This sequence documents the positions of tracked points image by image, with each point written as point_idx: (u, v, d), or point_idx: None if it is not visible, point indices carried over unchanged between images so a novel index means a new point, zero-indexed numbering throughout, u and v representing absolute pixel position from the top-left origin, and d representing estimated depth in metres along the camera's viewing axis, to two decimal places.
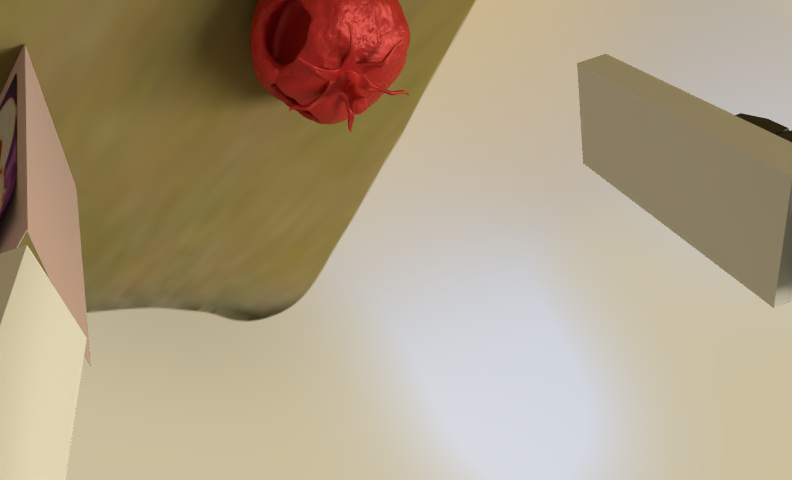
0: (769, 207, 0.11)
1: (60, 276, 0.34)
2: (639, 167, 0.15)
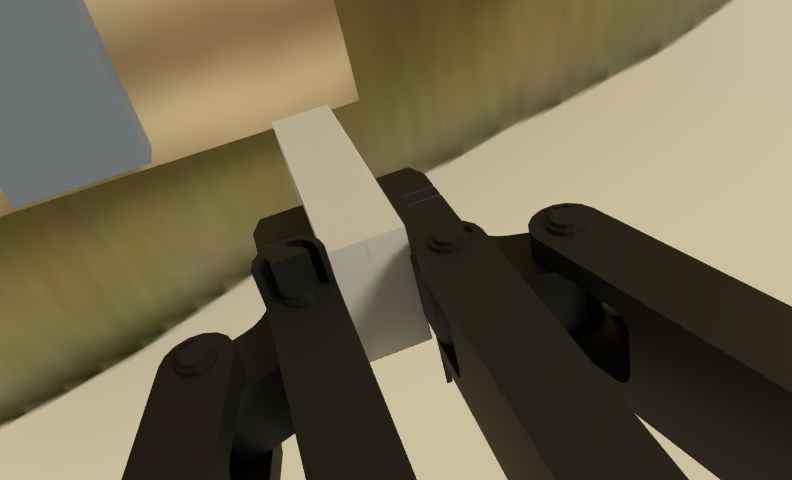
0: None
1: None
2: None
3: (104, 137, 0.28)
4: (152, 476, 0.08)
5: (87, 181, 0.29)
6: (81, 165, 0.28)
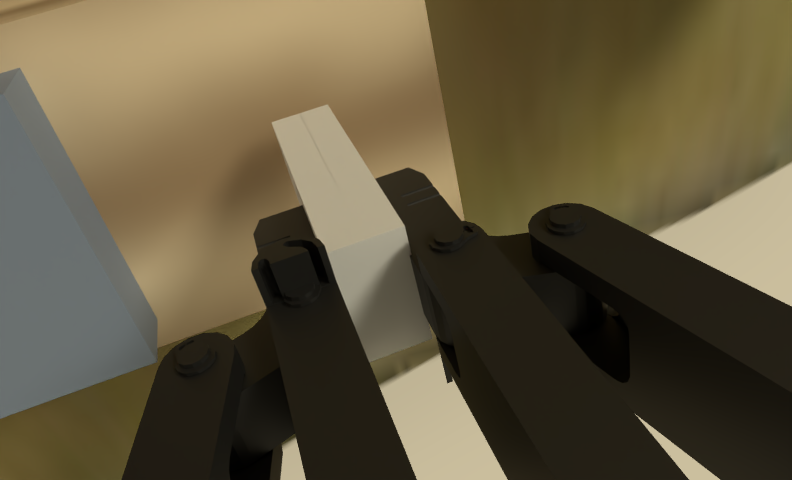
0: None
1: None
2: None
3: (81, 331, 0.17)
4: (152, 476, 0.08)
5: (55, 395, 0.18)
6: (44, 374, 0.18)
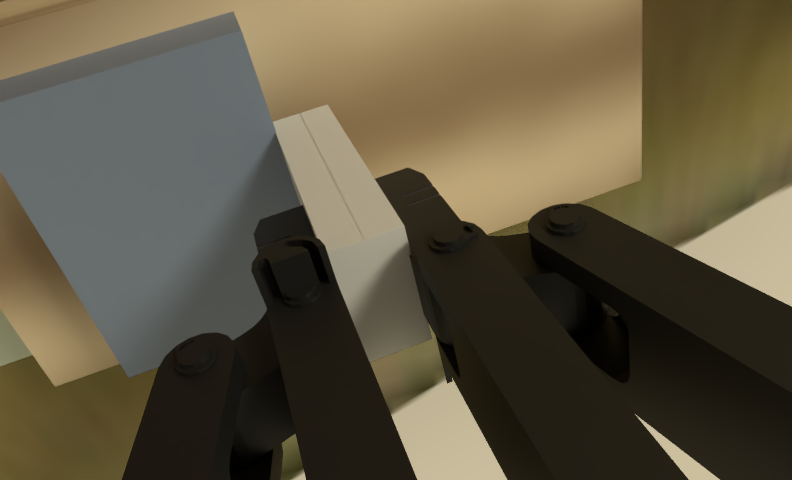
0: None
1: None
2: None
3: None
4: (152, 476, 0.08)
5: (240, 333, 0.19)
6: (234, 312, 0.18)
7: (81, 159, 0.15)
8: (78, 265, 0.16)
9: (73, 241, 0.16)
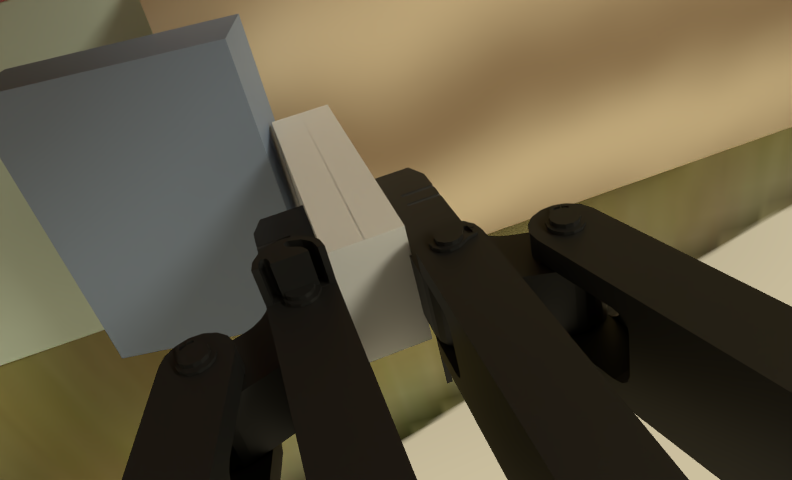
0: None
1: None
2: None
3: None
4: (152, 476, 0.08)
5: (229, 333, 0.19)
6: (222, 312, 0.18)
7: (71, 152, 0.16)
8: (72, 249, 0.17)
9: (67, 227, 0.17)
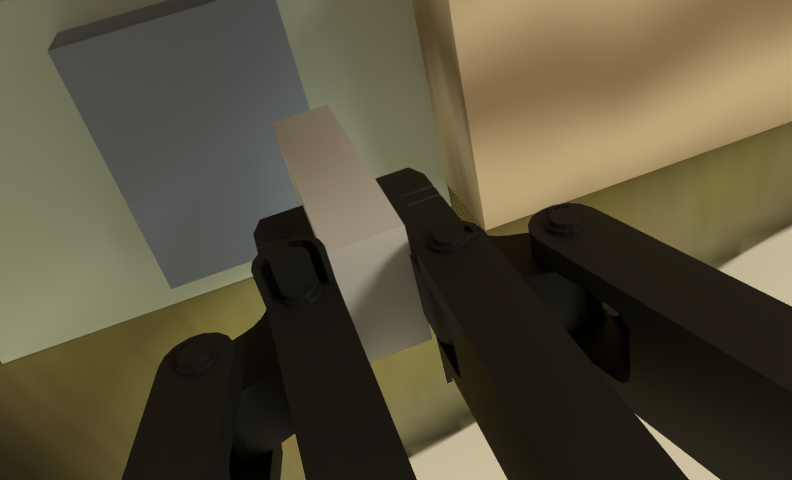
0: None
1: None
2: None
3: None
4: (152, 476, 0.08)
5: None
6: None
7: None
8: None
9: None
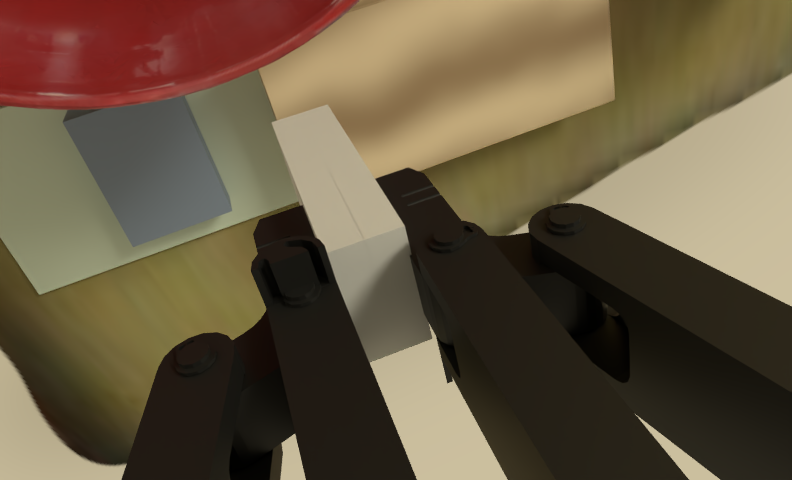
0: None
1: None
2: None
3: None
4: (152, 476, 0.08)
5: None
6: None
7: None
8: None
9: None
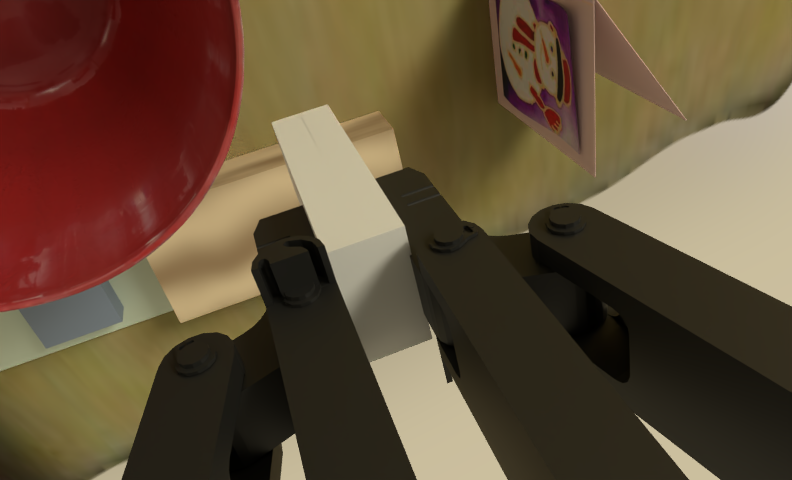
0: None
1: (624, 53, 0.41)
2: None
3: None
4: (152, 476, 0.08)
5: None
6: None
7: None
8: None
9: None
